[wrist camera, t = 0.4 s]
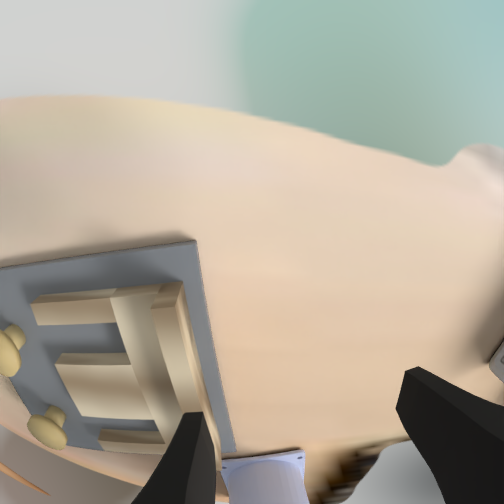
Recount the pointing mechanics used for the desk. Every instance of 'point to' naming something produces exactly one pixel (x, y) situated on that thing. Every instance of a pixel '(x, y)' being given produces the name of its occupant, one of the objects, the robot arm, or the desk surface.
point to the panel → (134, 363)
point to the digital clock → (498, 363)
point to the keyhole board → (93, 336)
